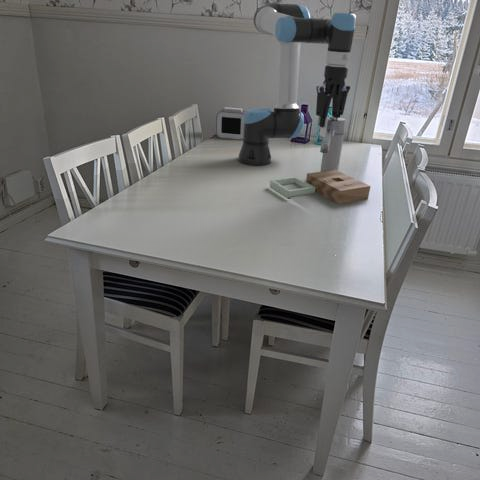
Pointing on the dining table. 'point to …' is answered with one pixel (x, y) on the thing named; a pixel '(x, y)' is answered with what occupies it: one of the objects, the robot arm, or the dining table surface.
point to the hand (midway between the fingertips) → (326, 135)
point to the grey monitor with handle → (230, 123)
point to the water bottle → (334, 149)
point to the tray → (285, 192)
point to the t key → (328, 133)
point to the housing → (338, 186)
